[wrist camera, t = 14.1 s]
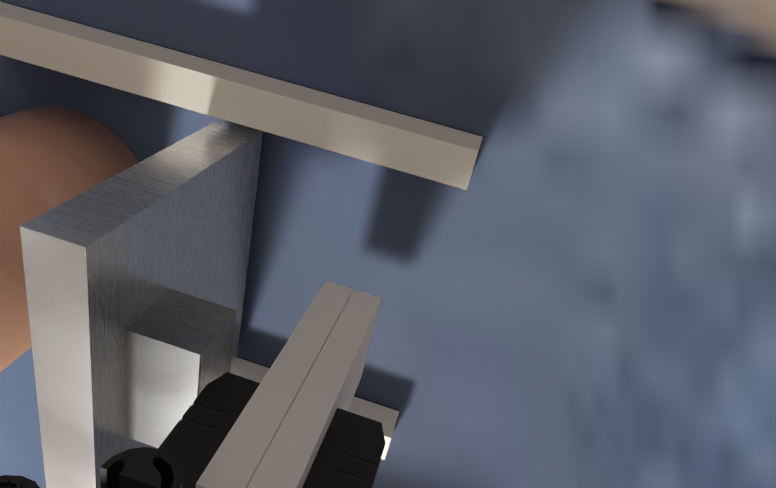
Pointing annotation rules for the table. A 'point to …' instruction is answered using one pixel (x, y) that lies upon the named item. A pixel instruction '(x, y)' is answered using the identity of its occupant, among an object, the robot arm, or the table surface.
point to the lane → (245, 114)
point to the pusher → (138, 297)
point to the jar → (43, 193)
